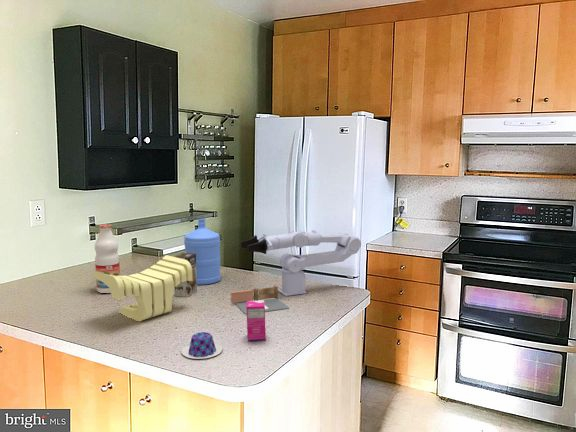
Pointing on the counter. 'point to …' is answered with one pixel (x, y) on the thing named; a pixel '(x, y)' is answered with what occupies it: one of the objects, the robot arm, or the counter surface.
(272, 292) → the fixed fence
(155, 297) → the slatted curved stool
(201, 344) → the pudding
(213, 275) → the water jug
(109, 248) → the fruit juice
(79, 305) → the counter surface
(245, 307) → the card
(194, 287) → the coffee box
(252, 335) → the supplement box
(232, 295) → the swing panel
